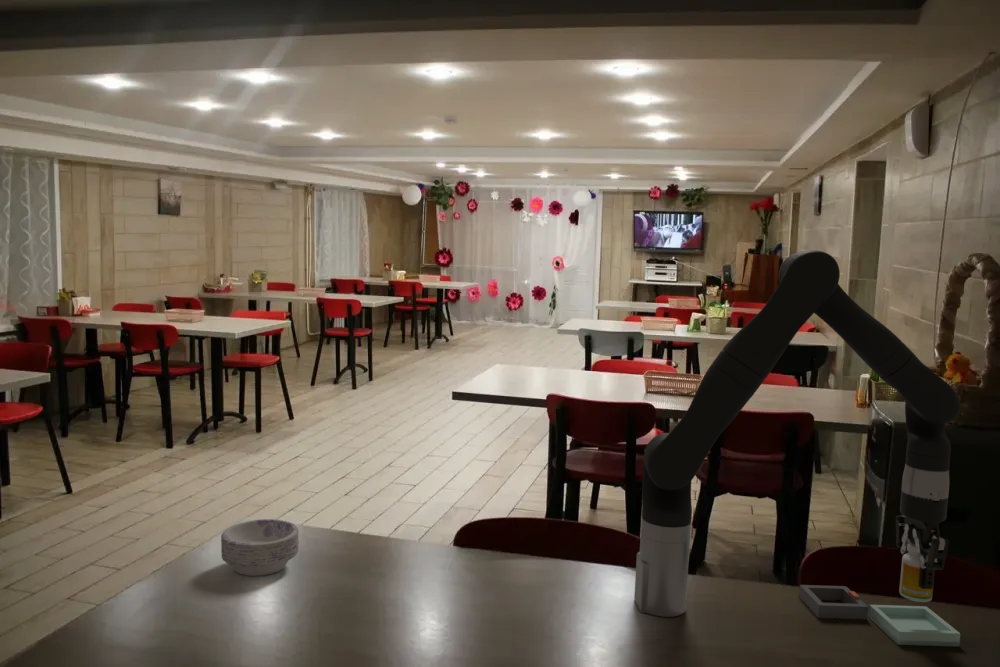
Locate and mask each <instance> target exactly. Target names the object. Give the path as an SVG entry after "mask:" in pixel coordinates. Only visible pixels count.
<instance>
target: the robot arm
mask: <svg viewBox="0 0 1000 667" xmlns="http://www.w3.org/2000/svg"><path fill="white" fill-rule="evenodd" d="M839 266H840V265H839V264H838V262H837V260H836V259H835V258H834V257H833V255H831V254H829V253H827V252H825V251H822V250H818V249H817V250H816V249H815V250H813V249H811V250H801V251H797V252H794V253H793V254H791V255H789V256H788V257H786V258H785V259H784V260H783V261H782V263H781V265H780V267H779V270H778V285H777V287H776V289H775V290H774V292H773V293H772V295H770V297H769V299H768V300H767V302H766V303H765V305H764V306H763V307H762V308H761V310H760V311H759V312H758V313H757V314H756V315H755V316H754V317H752V319H750V321H749V322H747V323H746V324H745V325H744V326H742V327H741V329H740V330H739V331H738V332H737V333H736V334H734V336H733V337H732V338H730V340H729V341H728V342H727V343H726V344H725V345H724V346H723V348H722V350H720V352H719V353H718V355H717V356H716V357H715V359H714V360H713V361H712V363H711V364H710V365H709V367H708V369H707V370H706V372H705V373H704V376H703V378H702V379H701V381H700V383H699V385H698V387H697V389H696V391H695V394H694V396H693V399H692V401H691V403H690V405H689V406H688V408H687V410H686V412H685V413H684V415H683V417H682V418H681V419H680V420H679V421H678V423H676V425H675V426H674V428H672V430H670V432H665V433H660V434H657V435H656V436H654V437H652V439H650V441H649V442H648V443H647V445H646V446H645V450H644V454H643V464H642V465H643V466H642V467H643V469H642V485H641V487H642V488H641V524H640V525H641V526H640V537H639V538H640V540H639V541H640V543H639V551H637V553H636V563H635V564H636V565H635V581H634V583H635V584H634V596H633V597H634V601H635V603H636V607H637V609H638V611H639V613H642V614H644V613H645V614H649V615H652V616H656V617H664V618H672V617H678V616H681V615H683V614H685V612H686V605H687V592H688V576H689V575H688V574H689V562H690V560H689V559H690V547H691V545H690V543H691V532H692V531H691V530H692V514H693V511H692V510H693V507H692V480H693V479H694V478H695V476H696V474H697V473H698V472H699V469H701V466H702V464H703V463H704V461H705V460H706V458H707V457H708V454H709V453H710V451H711V450H712V448H713V447H714V445H715V443H716V442H717V440H718V438H720V436H721V434H722V433H723V432H724V431H725V430H726V429H727V427H729V425H730V424H731V423H732V422H733V420H734V419H735V418H736V417H737V416H738V414H739V413H740V412H741V411H742V409H744V407H745V406H746V404H747V403H748V402H749V401H750V399H751V398H752V397H753V396H754V395H755V394H756V392H757V390H759V388H760V387H761V385H762V384H763V383H764V381H765V380H766V379H767V377H768V376H769V375H770V373H771V371H772V370H773V369H774V367H775V366H776V364H777V363H778V361H779V360H780V358H781V357H782V356H783V354H784V353H785V351H786V349H787V348H788V347H789V345H790V344H791V342H792V341H793V339H794V337H795V336H796V335H797V333H798V332H799V331H800V330H801V328H802V327H803V326H804V325H805V324H806V322H807V321H809V319H810V318H811V317H812V316H813V315H815V316H817V317H818V318H819V319H821V320H822V321H823V322H825V324H827V325H828V326H829V327H830V328H831V329H832V330H833V331H834V332H835V333H836V334H837V335H838V336H839V337H840V338H841V339H842V340H844V342H845V343H846V344H847V345H848V346H849V347H850V349H851V350H853V351H854V353H855V354H856V355H857V356H858V357H859V358H860V359H861V360H862V361H863V362H864V363H865V364H866V365H867V366H868V367H869V368H870V369H871V370H872V371H873V372H874V373H875V374H876V375H877V377H879V378H880V379H881V380H882V381H883V382H884V383H886V384H887V385H888V386H889V387H891V388H892V389H894V390H896V391H897V392H898V393H899V394H900V395H901V396H902V397H903V399H905V404H904V414H905V425H906V426H905V427H906V434H907V445H906V453H905V463H904V470H903V473H902V480H901V491H900V492H901V494H900V503H899V504H900V505H899V512H900V515H898V514H897V515H895V545H896V547H897V548H899V549H900V553H901V555H902V556H903V555H904V554H906V553H908V551H907V546H908V543H909V542H911V543H912V544H915V545H916V553H917V554H918V555H919V556H920V563H921V567H920V576H919V587H921V588H922V589H932V588H933V589H934V583H933V581H935V572H934V571H936V570H944V568H945V564H946V561H947V560H946V559H947V555H948V552H949V551H948V550H949V545H950V540H949V539H948V538H943V537H941V535H940V531H939V530H940V529H939V524H941V523H942V522H945V521H946V519H947V514H948V503H949V490H950V466H951V465H950V463H951V453H952V448H951V447H952V446H951V441H950V440H949V438H948V437H947V434H946V424H948V423H951V422H953V421H955V420H956V419H957V418H958V417H959V415H960V412H961V409H962V402H961V398H960V396H959V394H958V393H957V392H956V391H955V389H954V388H953V387H952V386H951V385H950V384H949V383H947V381H946V380H944V379H943V378H942V377H940V375H938V374H937V373H935V371H933V370H932V369H931V368H930V367H928V366H927V365H925V364H924V363H923V362H922V361H921V360H920V359H919V358H918V357H917V355H916V354H915V353H914V352H913V351H912V350H911V349H910V348H909V347H908V346H907V345H906V344H905V343H904V342H903V341H902V340H901V339H900V338H899V337H898V336H897V335H896V334H895V333H894V332H893V331H891V329H889V328H888V327H886V326H885V325H884V324H883V323H882V322H880V321H879V320H878V319H877V318H875V317H874V316H873V315H871V314H870V313H869V312H867V311H866V310H865V309H863V308H862V307H861V306H860V305H859V304H858V303H856V301H854V300H853V299H852V298H851V297H850V296H849V295H848V294H847V292H846V291H844V289H843V288H842V287H841V285H840V284H839V281H840V277H841V276H840V267H839ZM922 548H929V549H930V551H925V550H923V549H922ZM926 555H928V560H927V562H926Z"/></svg>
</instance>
